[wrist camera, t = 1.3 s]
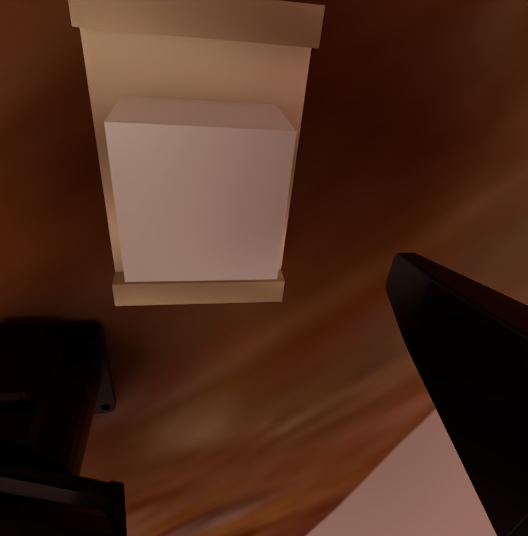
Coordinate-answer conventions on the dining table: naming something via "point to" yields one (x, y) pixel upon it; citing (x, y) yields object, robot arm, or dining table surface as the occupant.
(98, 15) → the castle tower
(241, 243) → the pale pink square block
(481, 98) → the dining table surface
